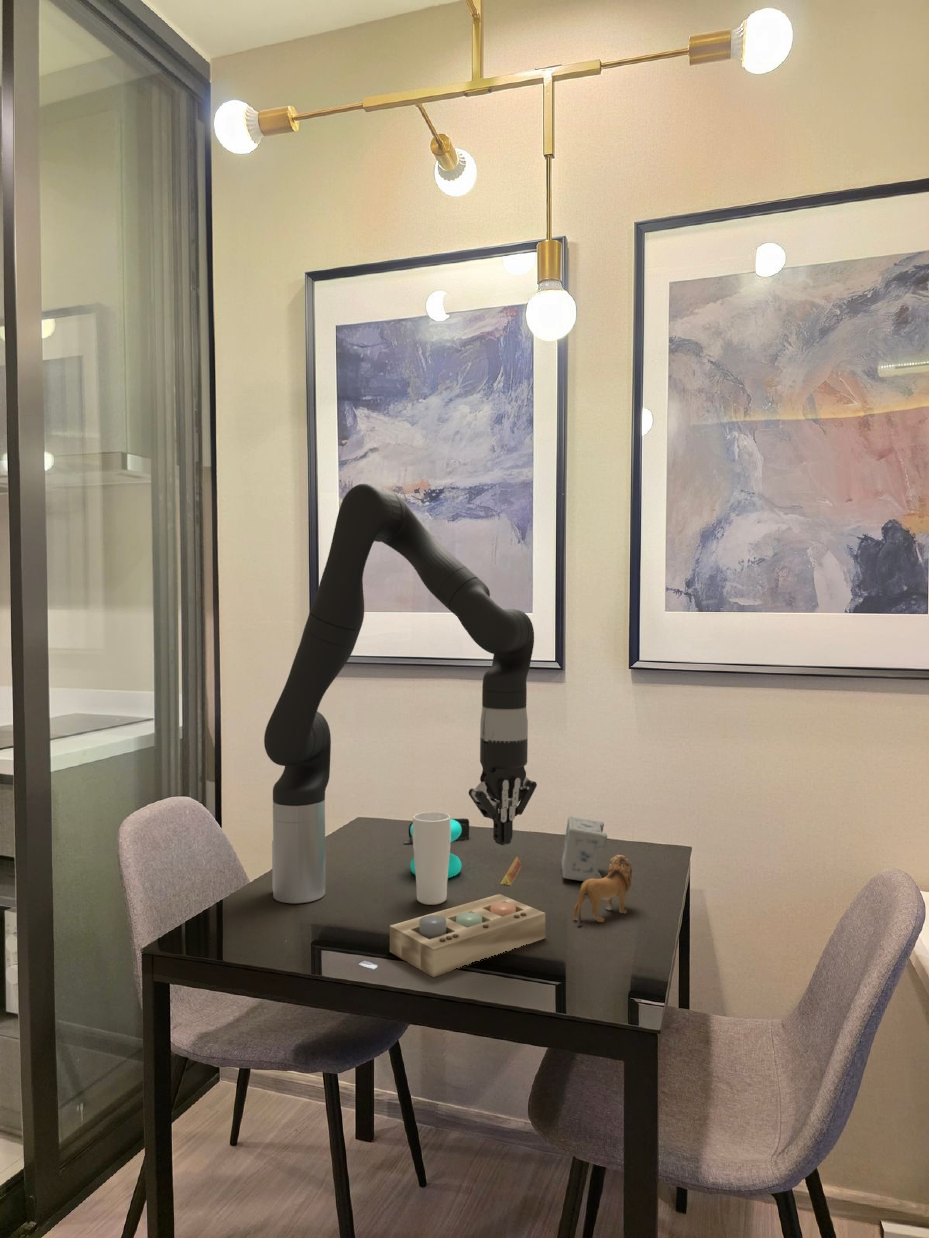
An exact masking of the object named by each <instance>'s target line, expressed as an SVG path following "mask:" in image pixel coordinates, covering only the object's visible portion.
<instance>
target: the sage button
mask: <svg viewBox="0 0 929 1238" xmlns="http://www.w3.org/2000/svg"><path fill="white" fill-rule="evenodd" d="M456 923H458V924H460V925H462V926H464V927H466V928H468V927H471V926H474V925H477V924H480V923H482V916H481V915H480V914H477V913H472V912H467V913H461V914H458V915H457V916H456Z"/></svg>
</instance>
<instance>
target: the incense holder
mask: <svg viewBox="0 0 929 1238" xmlns="http://www.w3.org/2000/svg"><path fill="white" fill-rule="evenodd" d="M604 826H605V823H604V821H597V820H594V819H586V818H580V817H574V816H568V818H567V823H566V831H565V836H564V843H563V849H562V855H561V860H560V862H561V863H560V864H561V874H562V875H561V876H562V878H564V879H567V880H574V881H581V882H584V881H586V880H588V879H601V878H603V877H602V875H601V873H600V872H599V862H600V854H601V850H603V849H605V848H606V847H607V843H608V835H607V832H606V833H605V832H604V828H605V827H604Z"/></svg>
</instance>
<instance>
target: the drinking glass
mask: <svg viewBox="0 0 929 1238" xmlns="http://www.w3.org/2000/svg"><path fill="white" fill-rule="evenodd" d="M451 819H452V818H451V816H450V814H448V813H446V812H441V811H440V812H439V811H425V812H419V813H416V814H414V815H413V817H412V822H413V844H412V848H413V849H412V850H413V858H414V862H415V874H416V875H415V885H416V887H415V888H416V900H417V901H418V902H419V903H420V904H423V905H429V906H430V905H431V906H435V905H441V904H443V903H444V902H445V901H446V900H447V899H448V880H449V878H448V867H449V856H450V853H451V843H452V842H451Z"/></svg>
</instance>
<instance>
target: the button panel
mask: <svg viewBox="0 0 929 1238" xmlns="http://www.w3.org/2000/svg"><path fill="white" fill-rule="evenodd" d="M500 902H506V903H511V904H513V905H515V906H516V913H512V914H509V915H506V916H503V917H501V916H499V915H497V914H494V913H492V912H491V905H492V904H494V903H500ZM467 912H472V913H477V914H480V915H481V916H482V923H480V924H477V925H474V926H471V927H468V928H466V927H464V926H462V925H460V924H458V923H456V916H457V915H458V914H461V913H467ZM430 915H436V916H442V917H444V918H445V919H446V934H445V935H442V936H439V937H436V938H433V939H428V938H426V937H424V936H422V935H420V934H419V920H420V919H421V918H422V917H425V916H430ZM545 939H546V912H543V911H541V910H539V909H537V908H534V907H532V906H529V905H527V904H524V903H523V902H519V901H518V900H514V899H512V898H510V897H507V896H505V895H503V894H501V893H498V894H494V895H492V896H488V897H485V898H481V899H478V900H473V901H471V902H467V903H464V904H460V905H457V906H453V907H450V908H447V909H443V910H439V911H436V912H433V913H428V914H425V915H422V916H419V917H415V918H412V919H408V920H405V921H401V922H398V923H395V924H390V925H389V953H391V954H393V955H395V956H396V957H398V958H400V959H401V960H403V961H404V962H406V961H407V963H408V964H409V965H412V966H413V967H415V968H417V969H418V968H419V970H420V971H421V972H424V973H425V972H426V973H425V974H427V975H429V976H431V977H432V978H435V977H438V976H441V975H444V974H447V973H449V972H453V971H455V970H454V969H456V968H458V969H461V968H463V967H462V966H464V965H467V966H470V965H472V964H471V963H472V962H475V961H479V962H481V961H482V960H481V959H484V958H487V959H490V958H492V957H491V956H493V957H495V956H494V955H496V956H498V954H499V955H501V954H504V953H506V952H505V951H507V952H509V951H512V949H513V950H515V949H514V948H516V949H518V948H522V947H524V946H527V945H529V944H530V945H531V944H533V943H535V942H538V941H542V940H545ZM526 944H527V945H526ZM523 945H524V946H523ZM521 946H522V947H521ZM503 952H504V953H503ZM500 953H501V954H500ZM489 957H490V958H489ZM480 960H481V961H480ZM484 960H485V959H484ZM469 964H470V965H469ZM460 967H461V968H460ZM464 967H465V966H464ZM452 970H453V971H452ZM456 970H457V969H456ZM446 972H447V973H446Z"/></svg>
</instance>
